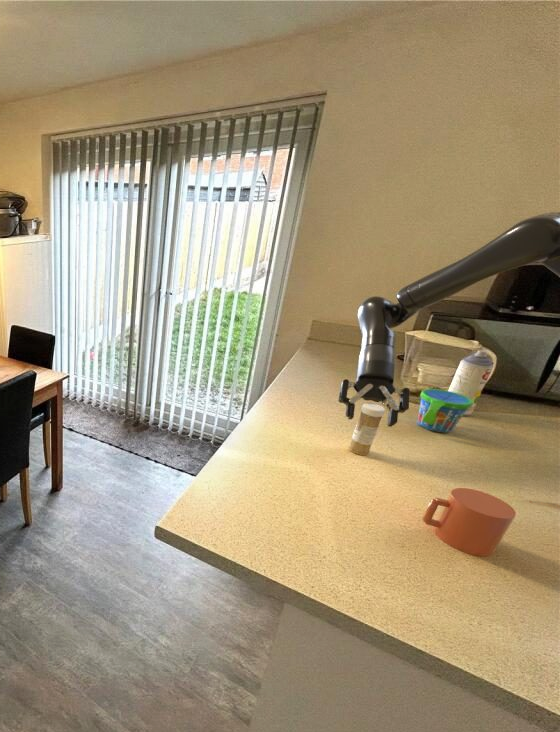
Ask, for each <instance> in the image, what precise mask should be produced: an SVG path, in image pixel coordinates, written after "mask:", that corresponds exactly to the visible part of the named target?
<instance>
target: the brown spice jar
mask: <svg viewBox="0 0 560 732" xmlns="http://www.w3.org/2000/svg"><path fill="white" fill-rule="evenodd" d="M385 411H386V408H385V406H382V405H381V404H377V403H373V402H365V403H363V404H362V405H361V408H360V414H359V416H358V419H357V422H356V425H355V428H354V429H353V430H354V431H353V433H352V435H351V440H350V444H349V445H348V450H349V451H350V452H351V453H353V454H355V455H359V456H360V455H361V456H368V455H369V454H370V450H371V448H372V445H373V443H374V440H375V437H376V436H377V435H376V434H377V432H378V429H379V425H380V422H381V421H382V418H383V416H384V414H385Z"/></svg>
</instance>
